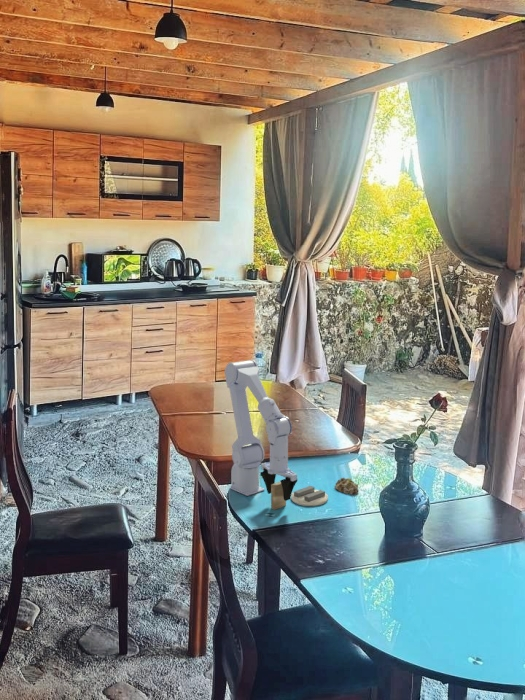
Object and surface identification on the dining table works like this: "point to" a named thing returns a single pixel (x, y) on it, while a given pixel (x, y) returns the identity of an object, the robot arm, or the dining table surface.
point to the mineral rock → (347, 486)
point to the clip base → (316, 502)
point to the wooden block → (277, 496)
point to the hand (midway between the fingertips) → (278, 496)
